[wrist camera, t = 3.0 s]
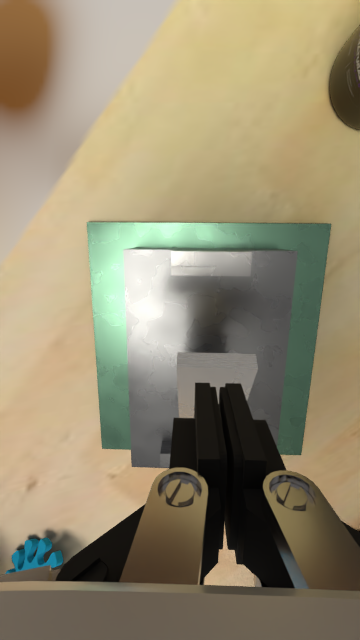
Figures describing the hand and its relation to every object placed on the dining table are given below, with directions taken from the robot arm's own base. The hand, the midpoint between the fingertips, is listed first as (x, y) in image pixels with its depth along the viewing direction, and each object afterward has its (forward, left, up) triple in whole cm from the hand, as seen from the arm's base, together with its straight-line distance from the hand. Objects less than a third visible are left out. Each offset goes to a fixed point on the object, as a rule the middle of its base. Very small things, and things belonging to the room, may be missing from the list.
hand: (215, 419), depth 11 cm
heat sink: (0, +3, -17) cm, 17 cm away
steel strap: (0, +5, -8) cm, 9 cm away
